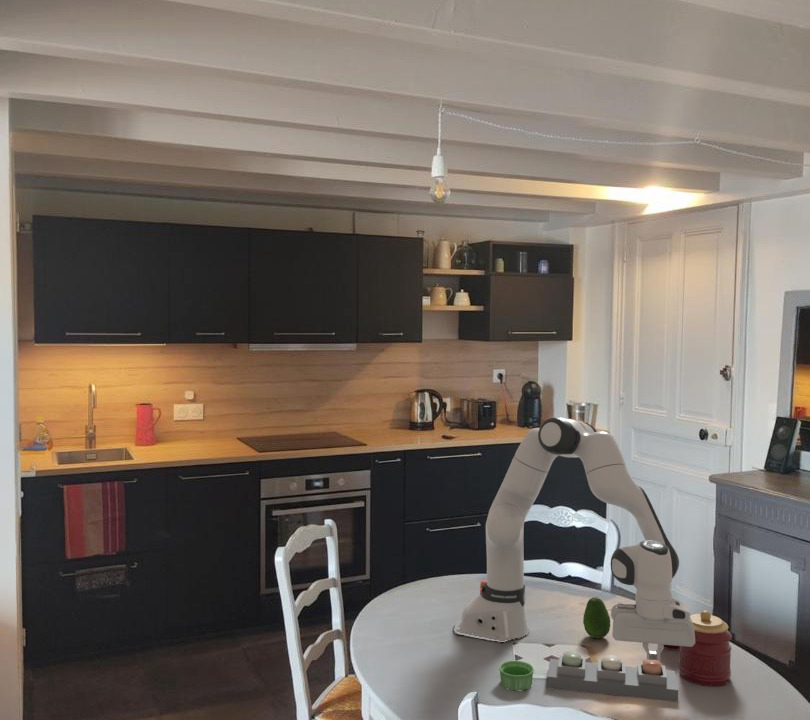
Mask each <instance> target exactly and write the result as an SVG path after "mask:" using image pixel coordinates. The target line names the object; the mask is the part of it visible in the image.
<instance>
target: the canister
mask: <svg viewBox="0 0 810 720" xmlns="http://www.w3.org/2000/svg"><path fill="white" fill-rule="evenodd" d="M690 617H691V619H692V622H693V626H694V632H695V644H694V645H693V646H692V647H687V646H680V650H679V660H678V670H679V674H680V676H681V677H682V678H684V680H686V681H687V682H690V683H692V684H696V685H700V686H706V687H721V686H724V685H726V684H728V683H729V682H730V681H731V680H730V679H731V675H732V669H731V657H732V656H731V654H732V653H731V652H732V646H731V645H730V641H731V640H732V637H733V636H732V634H731V632H730V631H729V630H728V629H729V625H728V623H726V622H725V621H724V620H722V619H721V618H720V617H719V616H715V615H712V614H711V613H710V611H708V610H702V611H701V612H700V613H694V614H690Z"/></svg>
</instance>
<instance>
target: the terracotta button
mask: <svg viewBox="0 0 810 720" xmlns="http://www.w3.org/2000/svg"><path fill="white" fill-rule="evenodd" d="M642 664H643V672H644V673H646V674H651V675H660V674H661V665H662V662H661V661H660V660H659V661H658V660H647V658H646V659H644V660H642Z"/></svg>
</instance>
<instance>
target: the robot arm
mask: <svg viewBox="0 0 810 720" xmlns="http://www.w3.org/2000/svg"><path fill="white" fill-rule="evenodd" d="M557 457H563V458H574V459H575V458H576V459H580V460H581V462H582V465H583V468H584V471H585V477H586V480H587V482H588V487H589V489H590V491H591V493H592V494H593V496H595V497H596V499H598V500H600V501H601V502H602V503H605V504H608V505H612V506H616V507H619V508H622V509H624V510H626V511H627V512H629V513H630V514H631V515H632V516H633V517H634V519H635V520H636V523H637V525H638V527H639V529H640V531H641V533H642V536H643V538H644V540H642V541H640V542H638V544H635V545H629V546H623V547H620V548H616V549H615V550H614V551H613V553H612V555H611V557H610V571H611V574H612V576H613V577H614V578H615V579H616V580H617V581H618V582H619V583H620V584H623V585H627V586H634V587H635V604H627V603H626V604H625V603H617V604H615V605H614V606H612V608H611V610H610V618H612V620H613V621H612V637H613V639H614V640H615V641H617V642H618V641H619V642H620V641H621V642H628V643H629V642H630V643H632V642H633V643H642V648H643V650H644V651H645V653H646V659H647V660H657V661H659V662H660V655H661V653H662V652H663V650H665V649H664V645H675V646H687V647H692V646H693V645H694V644H695V632H694V626H693V622H692V619H691V617H690V615H691V610H690V607H689V605H688V604H687V603H686V602H684V601H681V600H679V599H675V598H673V596H672V590H671V585H672V581H673V578H675V576H676V574H677V572H678V571H679V567H680V558H679V555H678V554H677V551H676V550H675V548H674V546H673V545H672V544H671V542H670V540H669V539H668V537H667V535H666V533H665V530H664V528H663V526H662V524H661V521H660V520H659V517H658V515H657V513H656V510H655V509H654V507H653V505H652V503H651V500H650V499H649V497H648V494H647V493H646V491H645V490H644V489H643V488H642V487H641V486H639V485H638V484H637V483H636V482H635V481H634V480H633V478H632V477H631V475H630V473H629V471H628V469H627V466H626V463H625V459H624V457H623V454H622V452H621V449H620V448H619V444H618V443H617V441H616V439H615V437H614V436H613V435H612V434H611V433H609V432H607V431H598V430H597V429H596V428H595V427H594V426H592V424H589V423H587V422H585V421H584V422H583V421H580V420H578V419H574V418H564V417H560V416H556V417H550V418H547V419H546V420H544V421H543V422H542V423H541V425H540V426H539V427H534V428H531V429H530V430H529V431H528V432H527V433H526V435H525V436H524V437H523V439H522V440H521V442H520V444H519V445H518V448H517V449H516V451H515V454H514V456H513V457H512V460H511V463H510V465H509V467H508V469H507V472H506V473H505V476H504V478H503V481H502V482H501V484H500V487H499V489H498V491H497V493H496V495H495V497H494V499H493V501H492V503H491V506H490V508H489V510H488V515H487V518H486V522H485V544H486V545H485V546H486V547H485V548H486V549H485V550H486V580H485V579H483V580H481V582H480V584H479V586H480V587H479V594H480V595H477V597H475V598H473V599H472V600H470V601H469V602H468V603H467V604H465V606H464V608H463V611H462V614H461V617H462V618H461V623H460V625H459V626H456V627H460V629H459V630H456V631H457V632H460V633H465V634H469V635H474V636H479V637H485V638H489V639H494V640H499V641H505V640H509V639H513V640H515V639H514V638H518V639H521V638H520V637H522V638H524V637H526V636H527V635H528V634H529V633H528V632H530V631H529V626H528V622H527V619H526V610H525V604H526V585H525V584H524V583H525V581H524V579H525V575H524V574H525V573H524V571H525V567H524V565H525V563H524V561H525V560H524V559H525V558H524V555H525V554H524V551H525V550H524V530H525V529H524V527H525V526H524V525H525V521H526V519H527V517H528V514H529V513H530V511H531V508H532V507H533V505H534V502H535V501H536V499H537V497H538V496H539V494H540V491H541V490H542V488H543V486H544V483H545V480H546V479H547V476H548V474H549V471H550V469H551V466H552V464H553V462H554V461H555V459H556V458H557ZM472 633H473V634H472ZM525 635H526V636H525ZM523 636H524V637H523ZM509 641H510V640H509ZM649 644H652V645H653V644H654V645H657V649H656V650H650V649H649V647H650V646H649Z"/></svg>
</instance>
